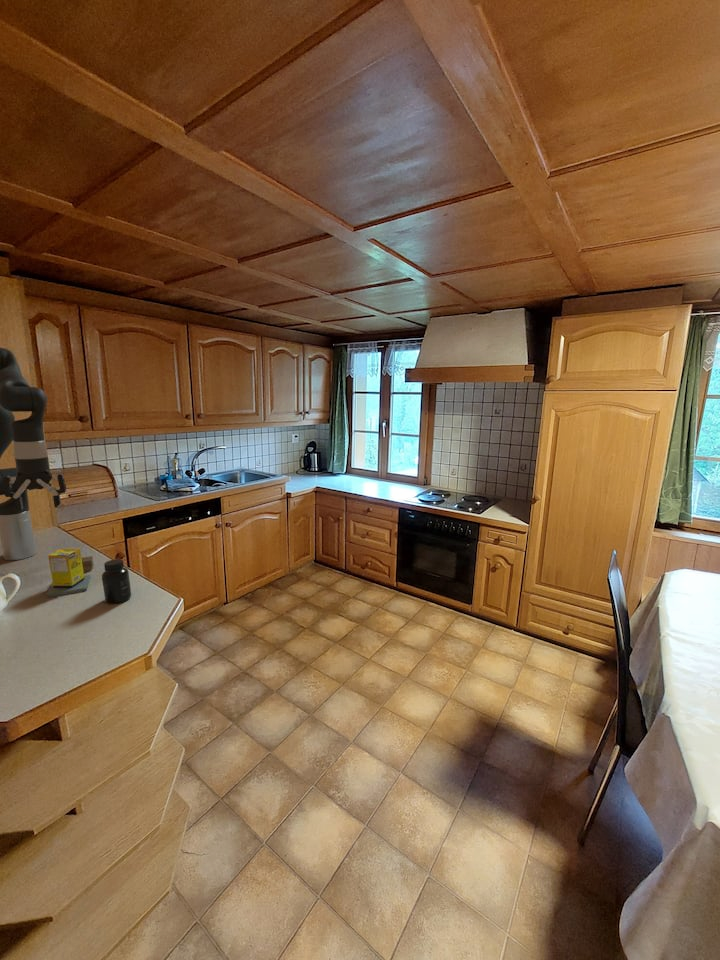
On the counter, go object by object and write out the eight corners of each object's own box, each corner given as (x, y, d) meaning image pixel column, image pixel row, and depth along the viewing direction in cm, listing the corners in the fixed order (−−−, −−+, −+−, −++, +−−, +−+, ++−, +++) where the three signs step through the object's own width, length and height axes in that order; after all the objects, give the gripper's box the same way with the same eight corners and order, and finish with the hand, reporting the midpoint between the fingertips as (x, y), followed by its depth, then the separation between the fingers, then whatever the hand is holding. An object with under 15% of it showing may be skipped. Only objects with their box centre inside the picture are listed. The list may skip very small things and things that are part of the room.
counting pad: (53, 583, 126) (52, 580, 126) (90, 577, 131) (90, 574, 130) (46, 597, 117) (46, 594, 117) (86, 590, 122) (86, 587, 122)
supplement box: (85, 579, 127) (80, 547, 125) (72, 588, 121) (67, 555, 119) (66, 579, 127) (61, 547, 125) (52, 588, 121) (47, 555, 119)
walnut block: (80, 568, 137) (78, 557, 137) (93, 566, 139) (92, 556, 138) (78, 573, 134) (77, 562, 133) (92, 570, 136) (91, 560, 135)
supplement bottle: (127, 591, 123) (124, 555, 120) (134, 599, 118) (130, 562, 115) (102, 598, 118) (97, 561, 115) (108, 607, 113) (103, 569, 111)
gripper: (63, 452, 122) (69, 502, 125) (3, 454, 115) (11, 507, 119) (59, 456, 115) (66, 509, 119) (-5, 459, 109) (4, 514, 112)
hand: (39, 508), depth 119 cm, fingers open, 8 cm apart
